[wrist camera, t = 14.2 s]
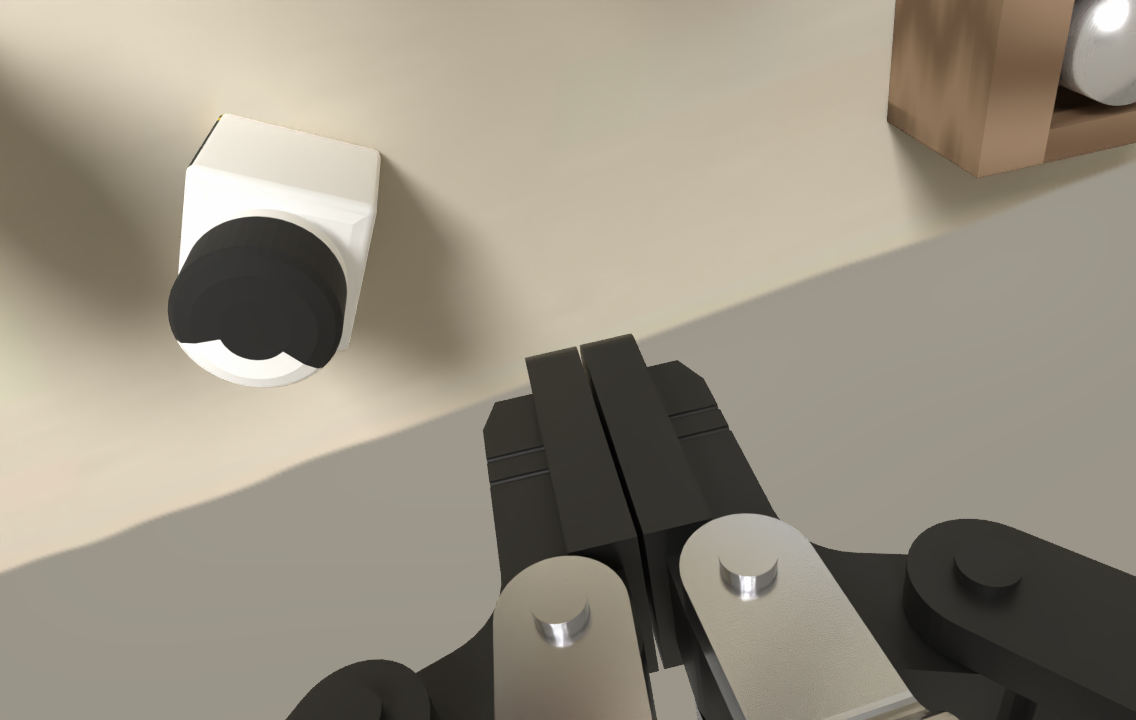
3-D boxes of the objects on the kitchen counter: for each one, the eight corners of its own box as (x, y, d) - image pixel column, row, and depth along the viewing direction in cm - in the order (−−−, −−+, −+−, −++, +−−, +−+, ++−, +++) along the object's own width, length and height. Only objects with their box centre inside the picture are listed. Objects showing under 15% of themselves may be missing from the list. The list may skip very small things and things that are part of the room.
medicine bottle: (220, 109, 36) (150, 219, 26) (382, 148, 38) (374, 264, 28) (207, 250, 39) (140, 395, 29) (356, 279, 41) (340, 423, 32)
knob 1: (1017, -28, 35) (1098, -7, 31) (1121, -50, 35) (1216, -32, 31) (1000, 83, 37) (1072, 116, 33) (1097, 62, 38) (1181, 92, 34)
